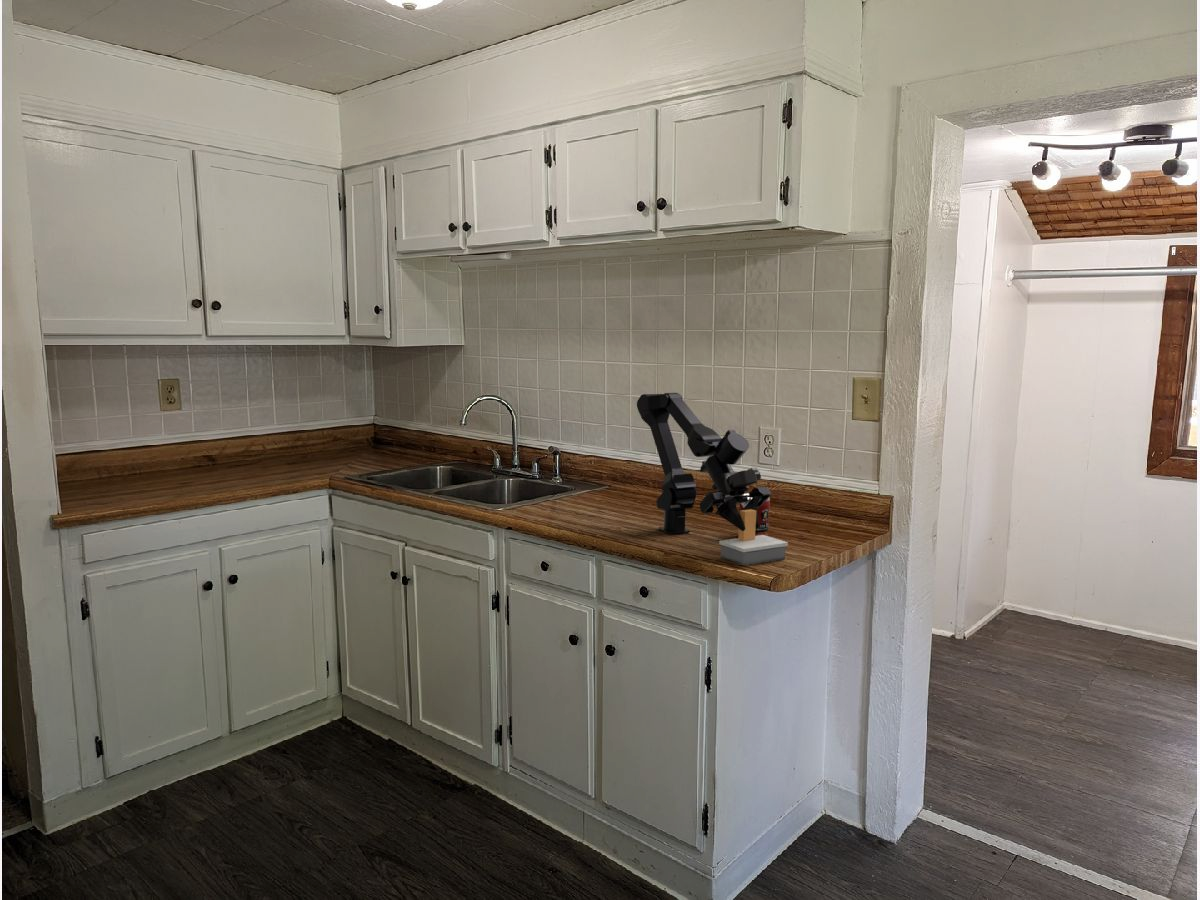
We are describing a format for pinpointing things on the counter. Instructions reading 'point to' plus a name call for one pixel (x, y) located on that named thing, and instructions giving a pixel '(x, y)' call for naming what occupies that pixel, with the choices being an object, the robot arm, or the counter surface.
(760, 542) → the lid
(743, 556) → the tub
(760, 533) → the canned food
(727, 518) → the robot arm
